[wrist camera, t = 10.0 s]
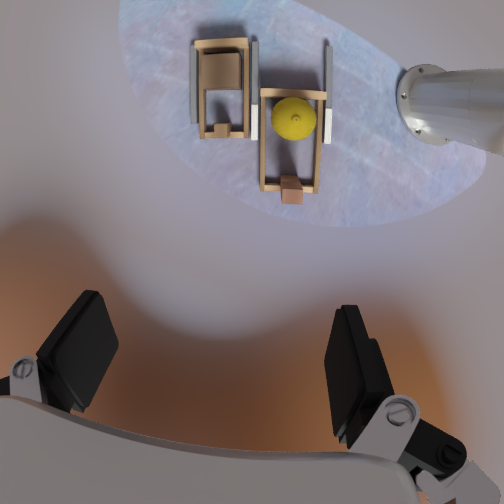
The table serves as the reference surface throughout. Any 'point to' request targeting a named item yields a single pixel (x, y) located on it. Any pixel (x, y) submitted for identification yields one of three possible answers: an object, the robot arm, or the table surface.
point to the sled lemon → (290, 183)
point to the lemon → (293, 118)
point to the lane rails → (327, 88)
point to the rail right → (194, 84)
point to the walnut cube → (222, 72)
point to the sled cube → (220, 128)
